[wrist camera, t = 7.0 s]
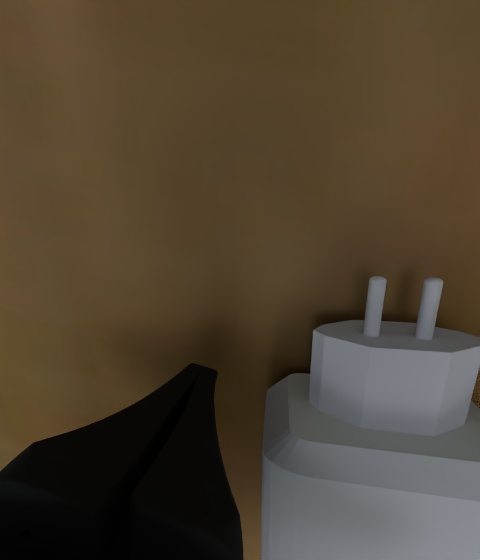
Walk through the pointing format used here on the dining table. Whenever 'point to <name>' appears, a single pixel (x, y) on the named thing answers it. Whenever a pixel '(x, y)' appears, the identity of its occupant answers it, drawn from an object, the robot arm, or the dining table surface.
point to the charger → (375, 443)
